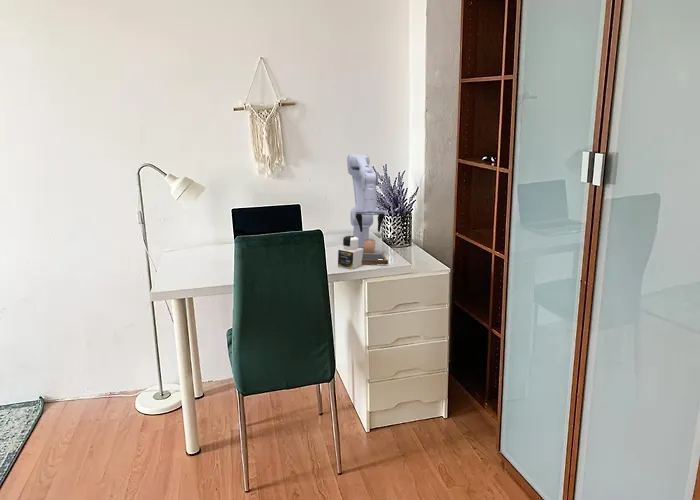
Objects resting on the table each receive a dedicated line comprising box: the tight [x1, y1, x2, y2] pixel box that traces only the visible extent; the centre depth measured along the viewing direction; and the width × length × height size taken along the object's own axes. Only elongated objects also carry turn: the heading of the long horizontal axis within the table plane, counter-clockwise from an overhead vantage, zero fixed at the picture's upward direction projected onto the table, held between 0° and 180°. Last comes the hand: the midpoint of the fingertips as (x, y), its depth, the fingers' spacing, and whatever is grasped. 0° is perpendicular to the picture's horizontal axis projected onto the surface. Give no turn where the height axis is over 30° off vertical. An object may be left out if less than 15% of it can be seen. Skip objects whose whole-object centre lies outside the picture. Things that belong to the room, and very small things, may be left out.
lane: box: [361, 252, 389, 266], centre depth 246 cm, size 14×11×2 cm
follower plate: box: [362, 252, 382, 260], centre depth 247 cm, size 1×8×2 cm, turn 95°
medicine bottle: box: [337, 235, 363, 270], centre depth 235 cm, size 7×7×12 cm
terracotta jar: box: [362, 238, 376, 254], centre depth 257 cm, size 5×5×6 cm
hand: (370, 231), depth 254 cm, fingers open, 7 cm apart
